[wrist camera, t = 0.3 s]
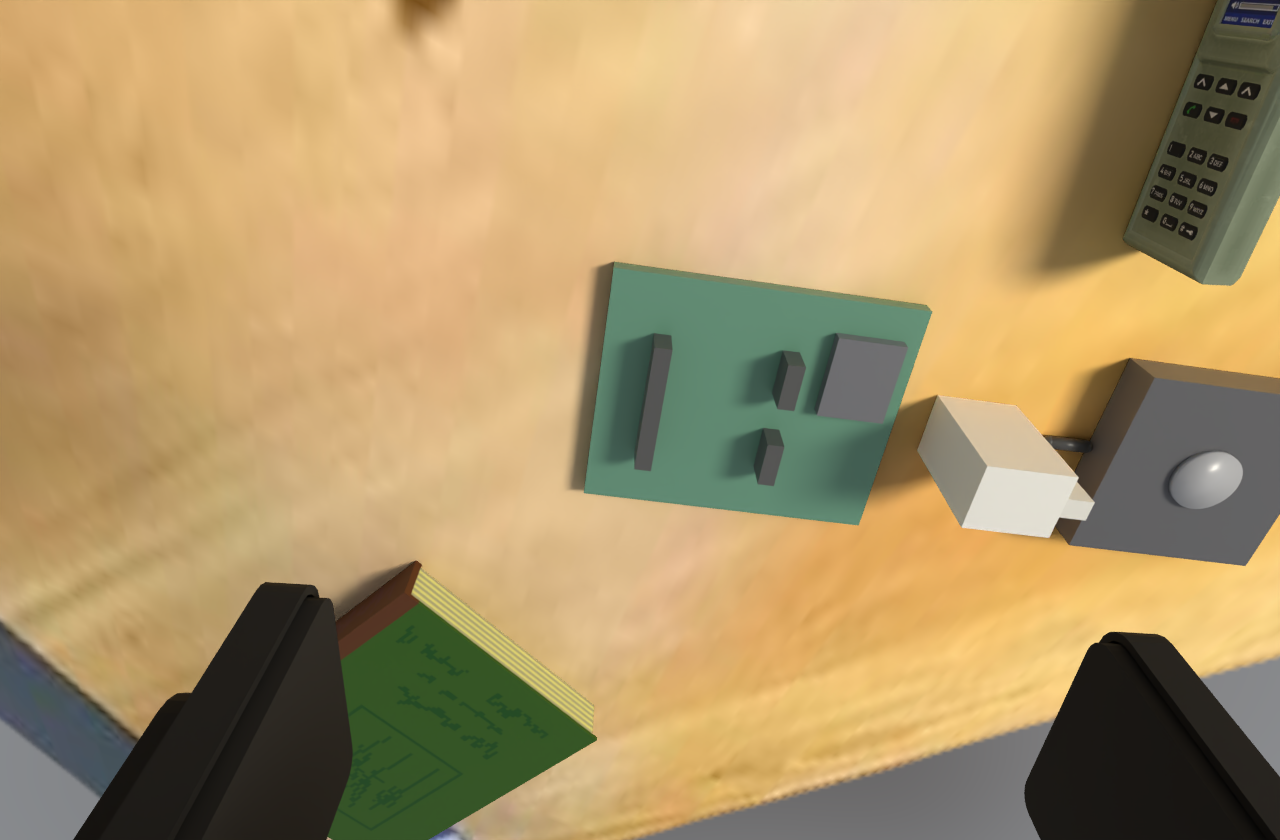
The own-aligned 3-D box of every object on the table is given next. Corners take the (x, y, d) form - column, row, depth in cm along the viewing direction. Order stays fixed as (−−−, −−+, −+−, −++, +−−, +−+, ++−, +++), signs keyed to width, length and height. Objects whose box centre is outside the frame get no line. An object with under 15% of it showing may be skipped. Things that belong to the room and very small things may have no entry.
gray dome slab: (1078, 351, 47) (1104, 373, 44) (1318, 383, 48) (1357, 407, 46) (1004, 514, 53) (1023, 543, 50) (1220, 540, 54) (1249, 569, 51)
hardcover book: (418, 555, 55) (404, 592, 52) (598, 699, 62) (596, 740, 59) (204, 717, 63) (181, 758, 60) (386, 829, 70) (374, 871, 67)
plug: (937, 394, 49) (987, 466, 42) (1039, 408, 49) (1106, 481, 42) (917, 450, 50) (961, 527, 44) (1015, 462, 51) (1075, 541, 44)
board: (614, 261, 44) (612, 280, 42) (926, 305, 46) (944, 325, 43) (584, 484, 52) (581, 511, 49) (854, 516, 53) (866, 544, 50)
